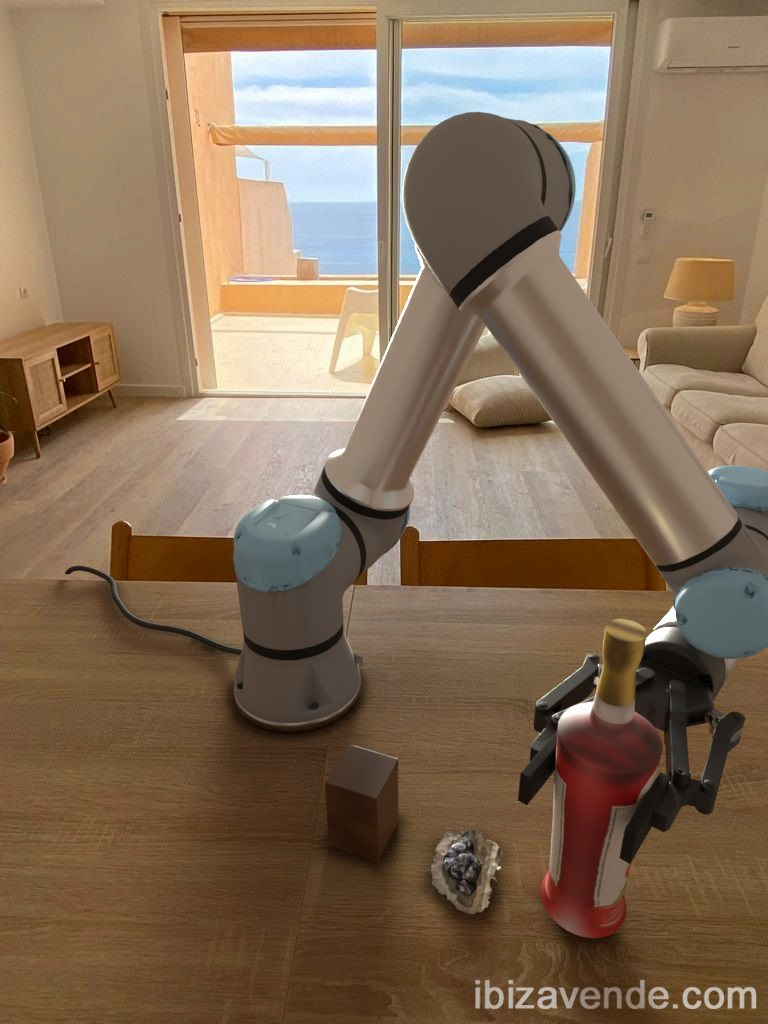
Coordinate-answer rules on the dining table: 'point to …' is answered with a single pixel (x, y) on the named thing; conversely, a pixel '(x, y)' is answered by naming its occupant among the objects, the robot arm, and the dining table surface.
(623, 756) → the liquor
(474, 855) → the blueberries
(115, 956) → the dining table surface
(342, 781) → the walnut block
